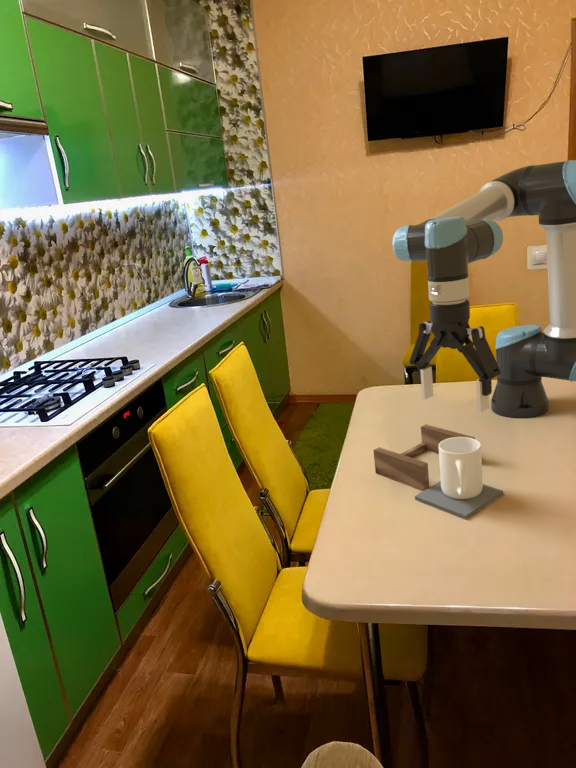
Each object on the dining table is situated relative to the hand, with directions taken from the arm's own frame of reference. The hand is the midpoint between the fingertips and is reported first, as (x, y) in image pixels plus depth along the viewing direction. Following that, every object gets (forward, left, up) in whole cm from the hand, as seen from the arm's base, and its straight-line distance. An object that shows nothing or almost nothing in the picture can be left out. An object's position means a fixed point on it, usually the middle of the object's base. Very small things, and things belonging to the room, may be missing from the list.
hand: (454, 403), depth 125 cm
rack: (-7, -15, -21) cm, 27 cm away
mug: (0, +1, -21) cm, 21 cm away
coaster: (0, 0, -21) cm, 21 cm away
